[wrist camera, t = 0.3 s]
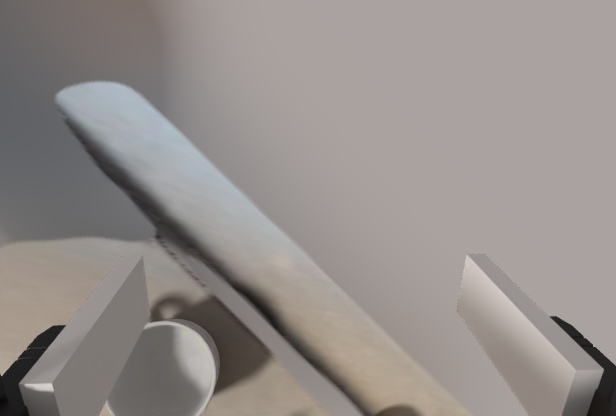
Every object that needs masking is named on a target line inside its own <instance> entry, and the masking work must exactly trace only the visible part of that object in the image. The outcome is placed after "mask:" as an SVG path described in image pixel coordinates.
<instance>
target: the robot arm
mask: <svg viewBox="0 0 616 416" xmlns="http://www.w3.org/2000/svg"><path fill="white" fill-rule="evenodd" d="M457 312H458V313H459V315H460V316H461V318H462V319H463V321H465V323H466V325H467V326H468V328H469V329H470V331H471V332H472V334H473V335H474V336H475V338H476V339H477V341H478V342H479V344H480V345H481V346H482V348H483V349H484V351H485V352H486V354H487V355H488V357H489V358H490V359H491V361H492V363H493V364H494V365H495V367H496V368H497V370H498V371H499V373H500V374H501V375H502V377H503V378H504V380H505V381H506V383H507V384H508V386H509V387H510V389H511V390H512V392H513V393H514V394H515V396H516V397H517V399H518V400H519V402H520V403H521V405H522V406H523V407H524V409H525V410H526V412H527V413H528V415H529V416H616V366H615V365H614V364H613V363H612V362H611V361H610V360H609V359H608V358H606V357H605V356H604V355H603V354H602V353H601V352H600V351H599V350H598V349H597V348H596V347H593V345H592V344H591V343H590V342H589V341H588V340H587V339H586V338H584V337H583V335H582V334H581V333H579V332H578V331H577V330H576V329H575V328H574V327H573V326H572V325H570V324H568V323H567V322H565V321H563V320H561V319H560V318H558V317H556V316H555V317H554V316H552V317H549V316H548V315H547V314H546V313H545V312H544V311H543V310H542V309H541V308H540V307H539V306H538V305H537V304H536V303H535V302H534V301H533V300H531V298H530V297H529V296H527V295H526V294H525V293H524V292H523V291H522V290H521V289H520V288H519V287H518V286H517V285H516V284H515V283H514V282H513V281H512V280H511V279H510V278H509V277H508V276H507V275H506V274H505V273H503V271H502V270H501V269H500V268H498V267H497V266H496V265H495V264H494V263H493V262H492V261H491V260H490V259H489V258H488V257H487V256H486V255H485V254H467V256H466V261H465V267H464V272H463V278H462V283H461V289H460V294H459V300H458V306H457ZM149 317H150V308H149V300H148V293H147V285H146V278H145V270H144V263H143V256H122V257H121V259H120V260H119V261H118V262H117V264H116V265H115V266H114V267H113V269H112V270H111V271H110V272H109V273H108V275H107V276H106V277H105V278H104V280H103V281H102V282H101V283H100V285H99V286H98V287H97V288H96V289H95V291H94V292H93V293H92V294H91V296H90V297H89V298H88V299H87V301H86V302H85V303H84V304H83V305H82V307H81V308H80V309H79V310H78V312H77V313H76V314H75V315H74V317H73V318H72V319H71V320H70V321H69V323H68V324H67V325H58V326H52V327H50V328H49V329H47V330H46V331H44V332H43V333H41V334H40V335H38V336H37V337H36V338H35V339H34V341H33V342H32V343H31V344H30V345H29V346H28V347H27V350H25V351H24V352H23V353H22V354H21V355H20V356H19V357H18V360H17V361H15V362H14V363H13V364H12V365H11V366H10V368H9V369H8V370H7V371H6V372H5V373H4V374H3V376H2V377H1V375H0V416H99V414H100V412H101V410H102V408H103V406H104V404H105V402H106V400H107V398H108V396H109V394H110V392H111V391H112V389H113V387H114V385H115V383H116V381H117V379H118V377H119V375H120V373H121V371H122V369H123V367H124V365H125V363H126V361H127V360H128V358H129V356H130V354H131V352H132V350H133V348H134V346H135V344H136V342H137V340H138V338H139V336H140V334H141V332H142V331H143V329H144V327H145V325H146V323H147V321H148V319H149Z"/></svg>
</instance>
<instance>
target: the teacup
mask: <svg viewBox="0 0 616 416" xmlns="http://www.w3.org/2000/svg"><path fill="white" fill-rule="evenodd" d="M219 370H220V360H219V354H218V350H217V347H216V345H215V343H214V341H213V339H212V338H211V336H210V335H209V334H208V333H207V331H205V330H204V329H203V328H202V327H201V326H199V325H197V324H195V323H193V322H191V321H188V320H183V319H166V320H161V321H156V322H151V323H148V324H146V325H145V327H144V329H143V331H142V332H141V334H140V336H139V338H138V340H137V342H136V344H135V346H134V348H133V350H132V352H131V354H130V356H129V358H128V360H127V361H126V363H125V365H124V367H123V369H122V371H121V373H120V375H119V377H118V379H117V381H116V383H115V385H114V387H113V389H112V391H111V392H110V394H109V396H108V398H107V400H106V405H107V408H108V410H109V412H110V413H111V414H112V416H200V415H201V414H202V413H203V412H204V410H205V409H206V408H207V406H208V404H209V402H210V400H211V398H212V396H213V393H214V390H215V386H216V383H217V380H218V376H219Z"/></svg>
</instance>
